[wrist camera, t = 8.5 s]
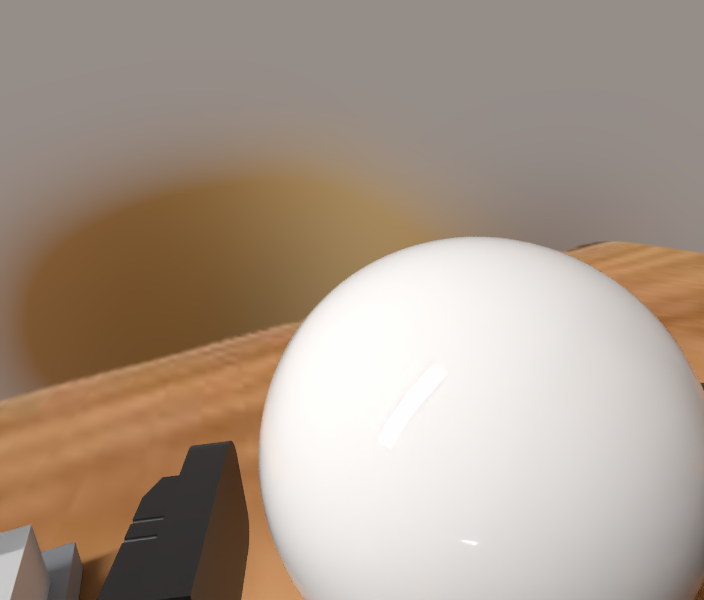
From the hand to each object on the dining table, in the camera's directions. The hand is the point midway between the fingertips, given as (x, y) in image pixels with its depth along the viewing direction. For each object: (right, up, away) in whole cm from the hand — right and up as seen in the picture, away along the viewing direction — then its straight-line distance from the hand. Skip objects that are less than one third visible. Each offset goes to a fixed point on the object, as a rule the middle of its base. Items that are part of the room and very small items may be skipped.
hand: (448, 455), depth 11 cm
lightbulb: (+1, -7, 0) cm, 7 cm away
